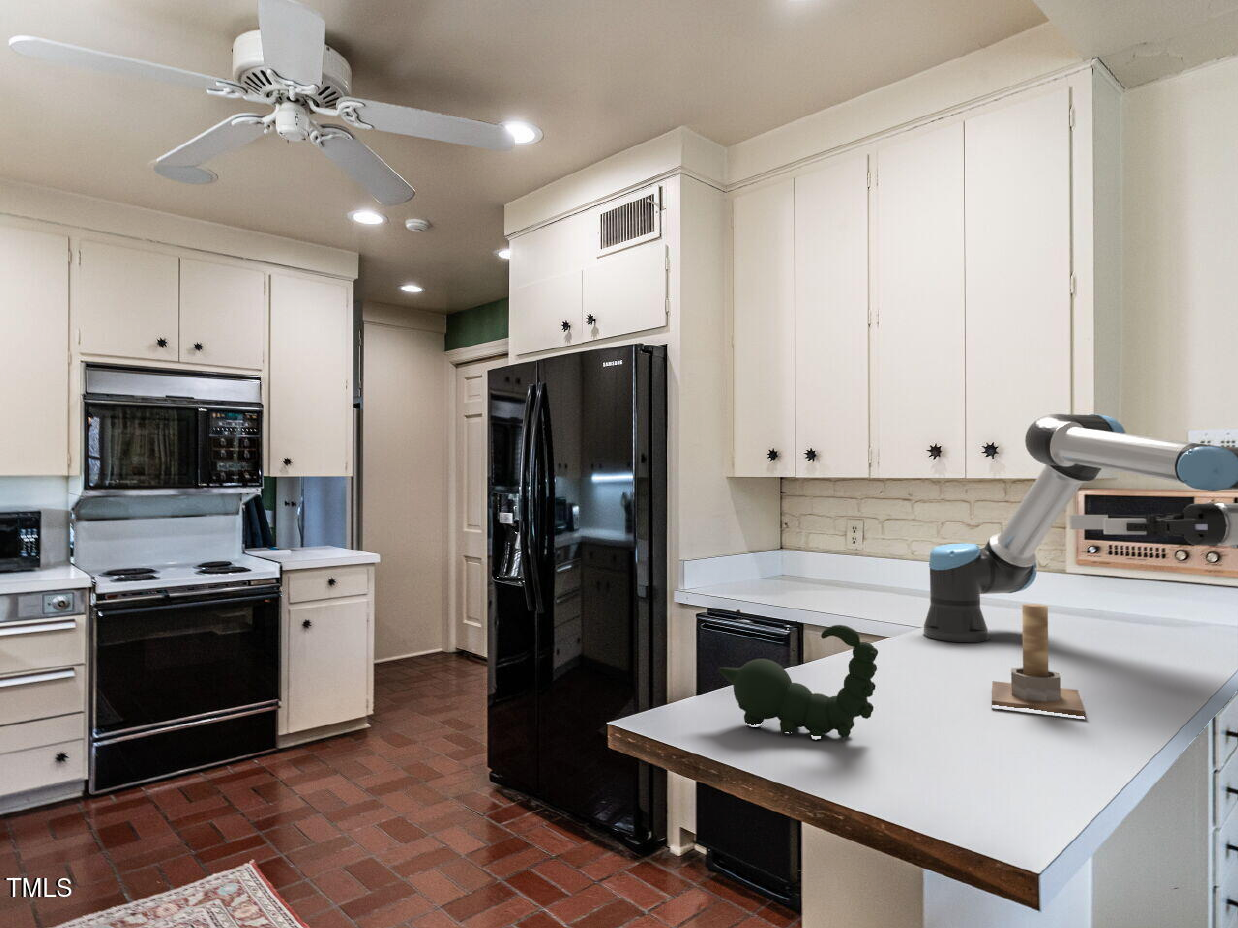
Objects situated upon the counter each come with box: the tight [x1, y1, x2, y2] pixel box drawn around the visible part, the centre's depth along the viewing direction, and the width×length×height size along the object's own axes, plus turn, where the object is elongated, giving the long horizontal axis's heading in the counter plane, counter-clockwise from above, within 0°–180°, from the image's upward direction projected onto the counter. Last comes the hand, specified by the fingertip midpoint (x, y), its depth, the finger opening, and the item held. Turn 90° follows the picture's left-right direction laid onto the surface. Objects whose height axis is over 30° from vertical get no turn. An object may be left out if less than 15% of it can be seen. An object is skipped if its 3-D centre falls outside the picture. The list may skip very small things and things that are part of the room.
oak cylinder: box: [1021, 603, 1049, 677], centre depth 134 cm, size 4×4×16 cm
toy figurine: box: [717, 624, 879, 738], centre depth 120 cm, size 9×19×25 cm
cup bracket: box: [991, 666, 1086, 718], centre depth 134 cm, size 14×14×6 cm
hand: (1086, 524), depth 137 cm, fingers open, 13 cm apart
